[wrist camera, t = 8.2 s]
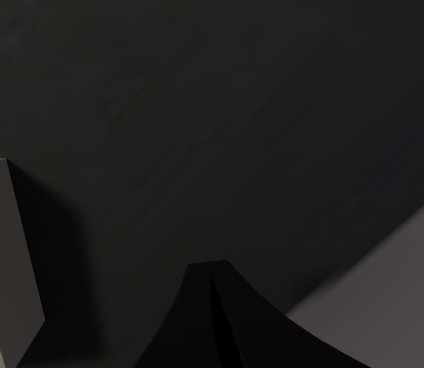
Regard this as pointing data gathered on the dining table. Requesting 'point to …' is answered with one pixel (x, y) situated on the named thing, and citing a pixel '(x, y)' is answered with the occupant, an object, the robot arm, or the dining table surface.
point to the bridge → (15, 280)
